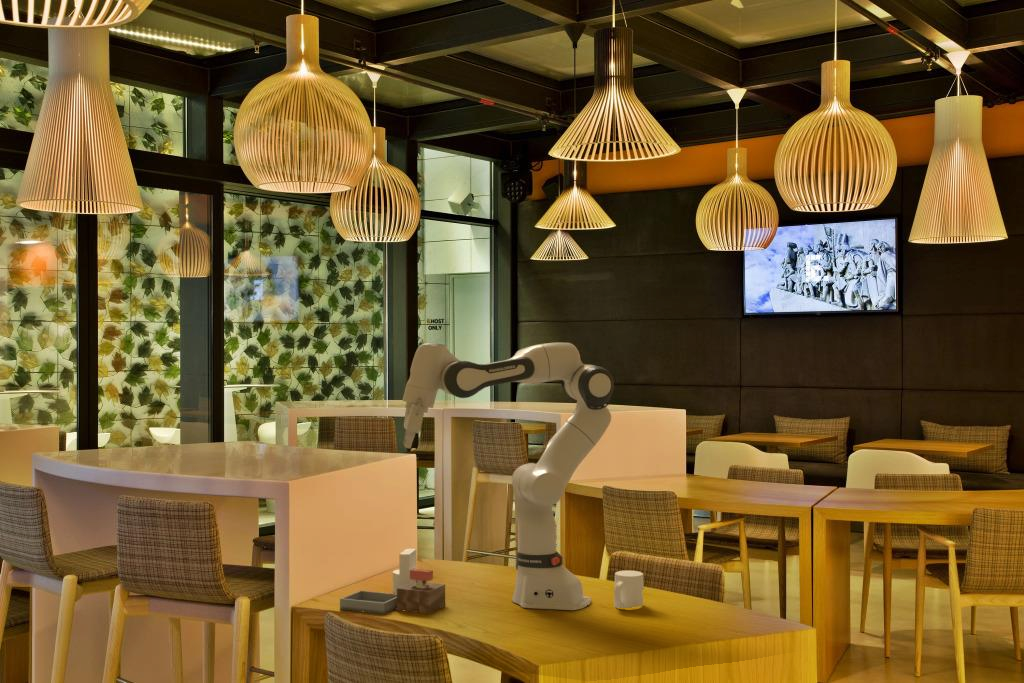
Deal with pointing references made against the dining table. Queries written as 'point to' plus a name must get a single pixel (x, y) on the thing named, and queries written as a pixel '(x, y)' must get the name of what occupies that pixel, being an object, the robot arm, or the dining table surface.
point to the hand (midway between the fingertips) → (406, 447)
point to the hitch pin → (421, 577)
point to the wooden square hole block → (420, 597)
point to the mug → (628, 589)
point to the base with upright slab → (404, 569)
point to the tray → (369, 602)
